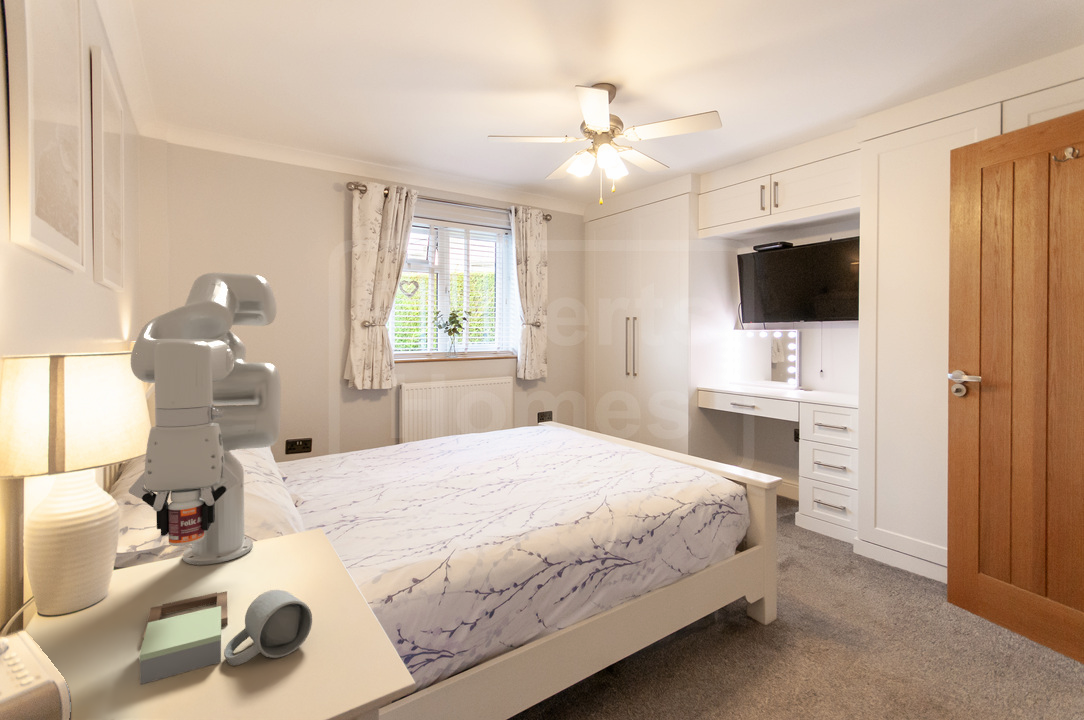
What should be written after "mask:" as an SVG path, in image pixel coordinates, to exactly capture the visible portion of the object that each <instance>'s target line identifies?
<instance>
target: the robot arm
mask: <svg viewBox="0 0 1084 720" xmlns="http://www.w3.org/2000/svg"><path fill="white" fill-rule="evenodd" d="M273 291H274V290H273V289H272V287H271V285H270V283H269V281H268V280H266V278H264V277H262V276H260V275H257V274H250V273H249V274H246V273H230V272H208V273H203V274H201V275H200V276H198V277H197V278H196V279H195V280H194V282H193V284H192V285H191V289H190V291H189V292H188V293H189V294H188V296H187V298H186V302H185V303H184V305H183V306H181V307H178V308H175V309H172V310H169V311H167V312H166V313H164V314H161V315H158V316H156V317H154V318H153V319H151V320H150V321H147V323H145V325H144V326H143V327H142V329H141V330H140V333H139V334H138V336H137V338H136V340H135V342H134V343H133V344H134V345H133V347H132V350H131V353H130V354H131V355H130V369H131V371H132V373H133V375H134V376H135V378H137V379H138V380H139V381H142V382H144V383H149V384H154V402H155V403H154V406H155V407H154V415H155V416H154V418H155V419H154V422H155V423H154V424H155V425H154V426H152V427H151V428H150V430H149V434H148V439H147V445H146V451H145V452H146V453H145V458H144V459H145V460H144V461H145V462H144V472H142V474H140V476H139V477H138V478H137V479H136V481H135V482H134V483H133V484H132V485H131V486H130V488H128V491H127V492H128V493H129V494H130V495H132V496H135V497H136V498H138V499H140V500H142V501H143V502H144V503H146V504H147V505H149V506H150V507H152V510H153V511H155V512H156V529H157V530H160V536H162V537H165V536H166V535H169V534H168V533H169V532H168V506H169V502H168V501H169V497H170V495H171V491H177V490H187V489H198V488H201V497H200V498H201V499H203V501H204V505H203V507H202V530H204V538H203V539H202V540H201V541H199V542H197V543H194V544H191V546H190V547H188V548H187V549H185V550H184V551H183V553H182V559H183V562H185V563H187V564H190V565H201V566H203V565H213V564H214V565H215V564H220V563H223V562H228V561H232V560H235V559H237V558H240V557H242V556H244V555H246V554H247V553H249V552H250V551H251V550H252V549H253V547H254V542H253V540H252V538H249V537H247V536H246V535H245V474H244V473H245V472H244V468H243V465H242V463H241V461H240V460H239V459H238V458H237V456H235V455H234V454H233V453H232V452H231V451H235V450H247V449H262V448H269V447H272V446H274V445H275V444H277V441H279V437H280V432H281V413H282V410H281V408H282V407H281V404H282V403H281V401H282V398H281V397H282V395H281V394H282V393H281V392H282V386H281V382H282V380H281V375H280V371H279V370H278V367H276V366H275V365H274V364H272V363H270V362H258V361H257V362H256V361H255V362H254V361H253V362H250V361H249V362H246V353H247V349H246V345H245V344H244V343H243V342H242V340H241V339H240V338H239V337H238V336H237V335H236V334H234V333H233V332H232V331H231V329H232V327H233V326H256V327H257V326H260V327H261V326H262V327H264V326H269V325H271V324H272V323H274V321H275V319H276V316H277V301H276V298H275V294H274V292H273ZM136 353H137V354H136Z"/></svg>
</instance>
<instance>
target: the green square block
mask: <svg viewBox="0 0 1084 720" xmlns="http://www.w3.org/2000/svg"><path fill="white" fill-rule="evenodd" d="M221 652H222V626H221V606H218V607H217V606H215V607H211V608H206V609H201V610H197V611H193V612H189V613H185V614H180V615H175V616H172V617H171V616H170V617H166V618H163V619H162V618H161V620H157V621H153V622H149V623H148V625H147V629H146V632H145V636H144V640H143V639H142V644H141V647H140V651H139V671H140V672H139V674H140V676H139V677H140V678H139V679H140V680H139V681H140V685H143V684H149V683H151V682H153V681H158V680H162V679H165V678H168V677H172V676H176V675H179V674H182V673H186V672H190V671H194V670H198V669H201V668H204V667H208V666H212V665H215V664H218V663H222V653H221Z"/></svg>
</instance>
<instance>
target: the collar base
mask: <svg viewBox="0 0 1084 720" xmlns="http://www.w3.org/2000/svg"><path fill="white" fill-rule="evenodd" d="M214 604H216V607H218V606H221V627H224V626H228V625H229V624H228V623H229V622H228V620H229V619H228V591H227V590H226V591H221V592H213V593H212V592H211V593H208V594H203V595H198V596H195V597H190V598H186V599H181V600H176V601H171V602H167V603H162V604H161V605H157V606H152V607H150V610H149V613H148V617H147V621H146V624H145V627H144V632H143V637H142V641H143V640H144V636H145V632H146V629H147V625H148V623H149V622H153V621H157V620H162V616H164V615H169V614H173V613H177V612H182V611H186V610H187V611H188V610H191V609H197V608H201V607H204V606H209V605H214Z"/></svg>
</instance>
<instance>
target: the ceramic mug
mask: <svg viewBox="0 0 1084 720" xmlns="http://www.w3.org/2000/svg"><path fill="white" fill-rule="evenodd" d="M244 625H245V626H244V629H242V630H241V631H239V633H237V634H236V635H234V637H233V638H231V640H230V641H229V642H228V643H227V645H226V646H225V649H224V651H223V655H224V657H225V659H226V661H227V662H228V664H229V665H231V666H239V665H242V664H244V663H247V662H248V661H250V660H251V659H252V658H254V657H256V656H257V655H258V654H260V653H261V654H262V655H263V656H265V657H266V658H270V659H278V658H282V657H285V656H288V655H290V654H292V653H294V652H295V651H296V650H297V649H299V648H300V647H301V646H302V645H303V643H304V642H305V641H306V639H307V638H308V636H309V634H310V632H311V630H312V625H313V614H312V611H311V608H309V606H308V604H307V603H305V602H303V601H302V600H300V599H299V598H297V596H295V595H293V594H292V593H290V592H288V591H286V590H280V589H271V590H267V591H265V592H263V593H261V594H259V595H258V596H257V597H256V598H255V599H253V601H252V602H251V603H250V604H249V606H248V608H247V610H246V613H245V616H244ZM248 638H250V639H251V640H252V641H253V644H252V645H251V646H250V647H248V648H246V649H245V650H244V651H243V650H242V652H239V653H237V654H235V655H234V651H236V649H237V648H238V647H239V646H240V645H241V644H242V643H243V642H245V641H246V640H247V639H248Z"/></svg>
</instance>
